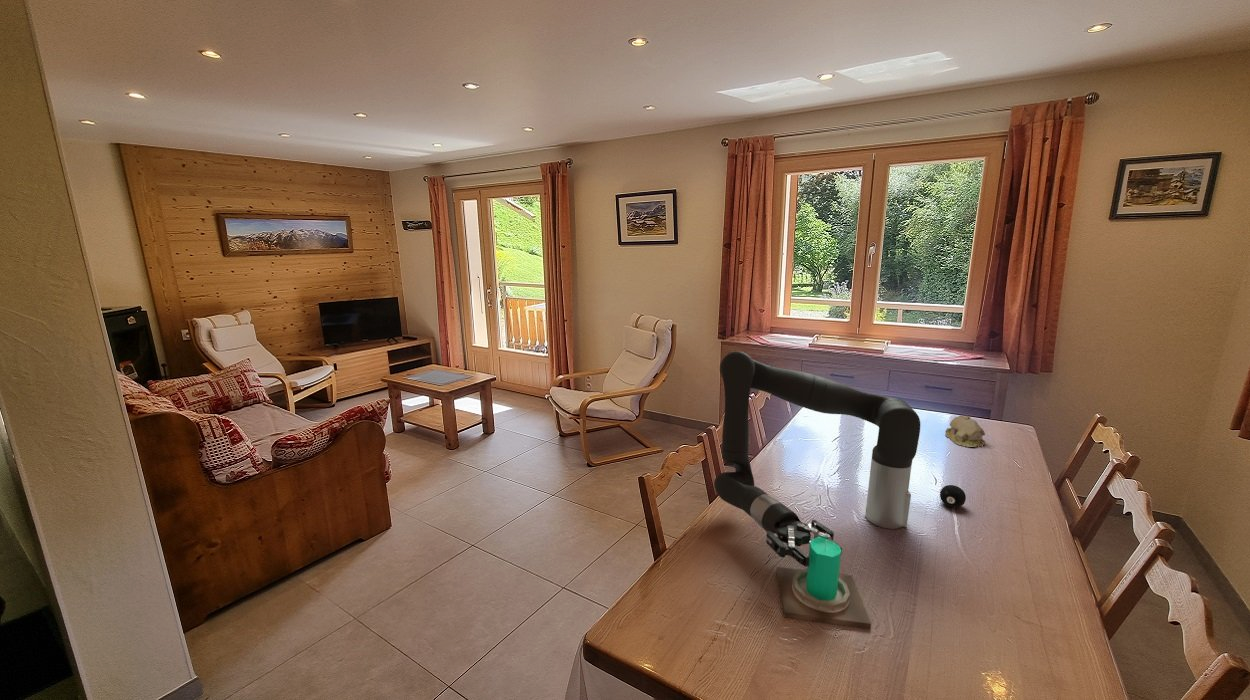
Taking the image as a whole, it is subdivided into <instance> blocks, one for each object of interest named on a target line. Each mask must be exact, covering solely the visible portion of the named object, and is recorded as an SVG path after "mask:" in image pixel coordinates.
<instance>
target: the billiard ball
mask: <svg viewBox="0 0 1250 700" xmlns="http://www.w3.org/2000/svg"><path fill="white" fill-rule="evenodd" d="M939 497H940V500H941V502H942V503H943V504H944V505H946V506H948V507H950V508H960V507H962V506H963V505H964V504H965V503H966V498H967V495H966V493H965V491H964V490H963V489H962V487H961V488H960V487H959V486H957V485H954V484H952V485H951V484H947V485H944V486H943V487H942V488H941V490H940V491H939Z"/></svg>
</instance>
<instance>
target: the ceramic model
mask: <svg viewBox="0 0 1250 700" xmlns="http://www.w3.org/2000/svg"><path fill="white" fill-rule="evenodd" d="M949 426H950V427H947V428H946V430H945V434H944V435H945V437H947V438H948V439H950V441H952V443H954V444H956V445H958V446H961V445H962V446H961V447H965V446H967V447H966V448H968V447H977V446H981V445H986V440H984V439H983V436H985V435H986V433H985V430H984V429H983V428H982V427H981V426H980V424H978V422H977V421H976V420H974V419H972V418H971V416H970V415H962V414H960V415H958V416H955V417H954V418H952V419H951V420H950V422H949ZM977 448H978V447H977Z"/></svg>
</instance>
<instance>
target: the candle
mask: <svg viewBox="0 0 1250 700" xmlns="http://www.w3.org/2000/svg"><path fill="white" fill-rule="evenodd" d="M837 544H838V543H837ZM837 544H835V543H834V542H832V541H829V540H827V539H824V538H821V537H817V538H815V539H814V538H813V539H812V541H811V542H810V544H809V551H808V557H809V566H807V568H808V571H807V583H806V588H807V591H808V592H809V593H810V594H811V595H812V596H813V597H815V598H817V599H820V600H825V601H830V600H833V599H835V597H836V595H837V588H838V578H839V574H840V569H841V568H840V567H841V560H842V558H841V557H842V554H841V549H840V547H839V546H838V545H837Z"/></svg>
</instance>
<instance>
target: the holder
mask: <svg viewBox="0 0 1250 700" xmlns="http://www.w3.org/2000/svg"><path fill="white" fill-rule="evenodd" d="M775 571H776V577H777V582H778V588H779V594H780V595H779V596H780V600H781V605H782V612H783V617H784V618H786V619H792V620H793V619H794V620H800V621H801V620H802V621H809V622H815V623H821V624H822V623H823V624H829V625H831V624H832V625H836V626H837V625H838V626H844V627H852V628H853V627H854V628H861V629H868V630H871V628H872V621H871V619H870V617H869V615H868V612H867V610H866V607H865V605H864V601H863V600H862V597H861V594H860V592H859V590H858V587H857V585H856V582H855V580H854V577H853V575H851V574H842V573H839V578H838V588H837V595H836V597H835V599H833V600H830V601H825V600H820V599H817V598H815V597H813V596H812V595H811V594H810V593H809V592H808V591H807V588H806V583H807V571H808V567H807V568H803V569H799V568H789V567H784V566H783V567H781V566H776V570H775Z"/></svg>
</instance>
